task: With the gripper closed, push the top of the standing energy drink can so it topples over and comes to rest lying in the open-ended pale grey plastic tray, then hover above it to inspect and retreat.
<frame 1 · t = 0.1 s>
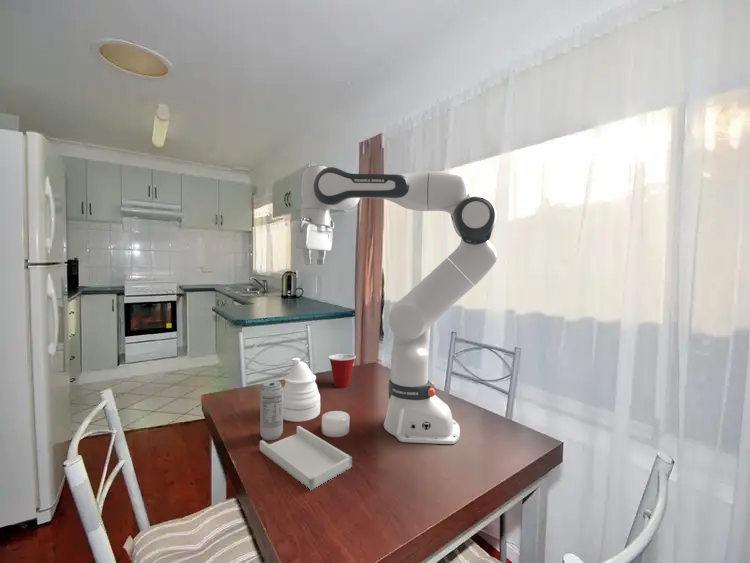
hand: (314, 264, 108), 48 cm above the table, fingers open, 8 cm apart
energy drink can: (271, 436, 96), on the table
plastic cup: (341, 385, 137), on the table
honey pot: (300, 413, 111), on the table
white rounded puck: (335, 430, 100), on the table
tray: (304, 458, 86), on the table
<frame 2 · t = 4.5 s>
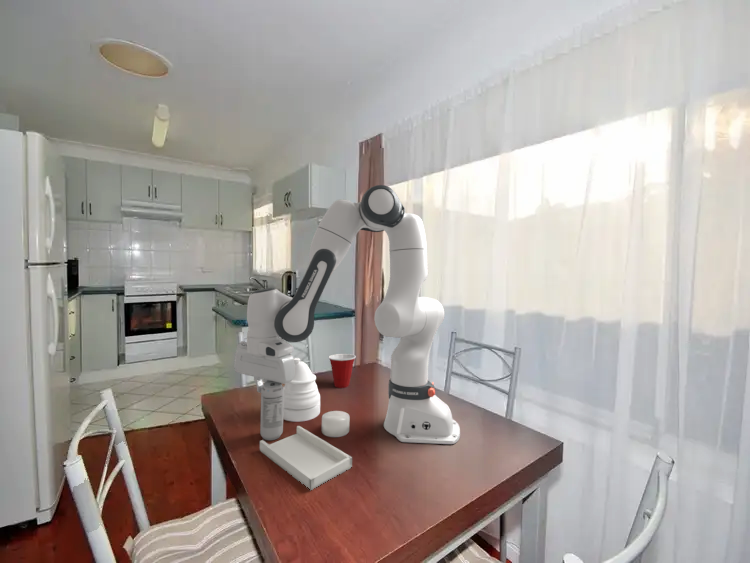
hand: (263, 392, 99), 11 cm above the table, fingers closed
nothing on the table moved.
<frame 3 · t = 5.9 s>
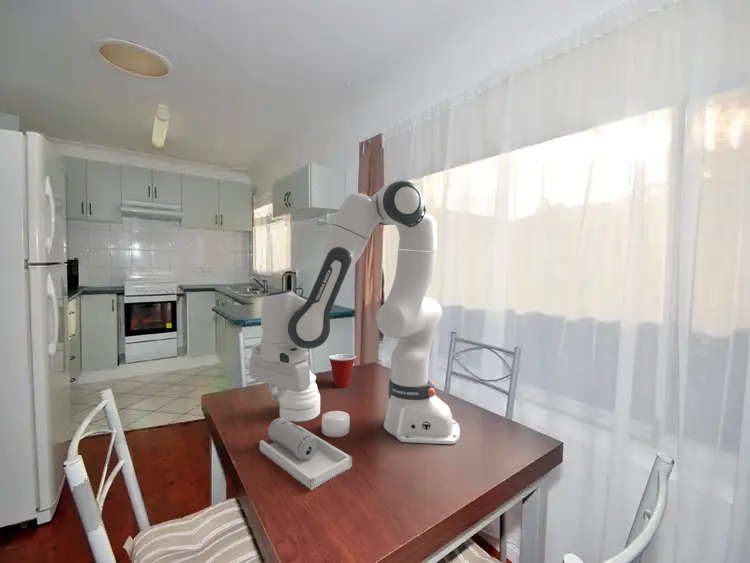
hand: (277, 400, 94), 11 cm above the table, fingers closed
energy drink can: (275, 427, 94), point 4 cm above the table, touching tray
everything else where it was.
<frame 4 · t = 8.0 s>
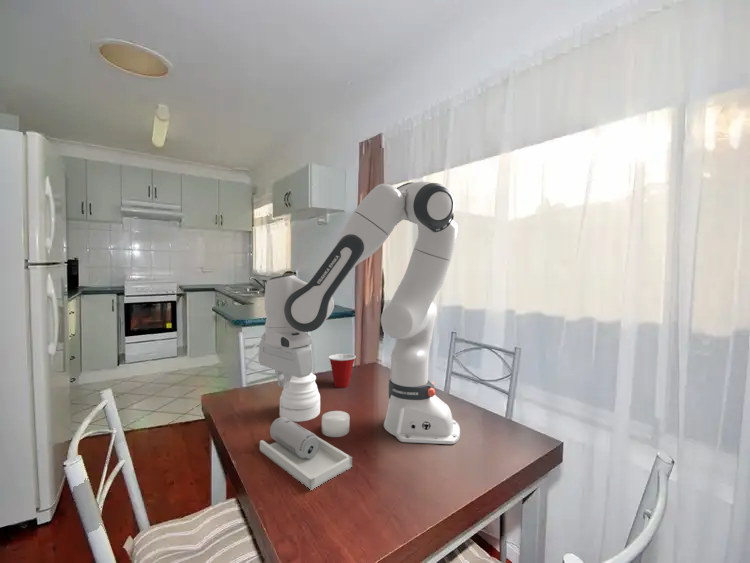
hand: (284, 386, 92), 15 cm above the table, fingers closed
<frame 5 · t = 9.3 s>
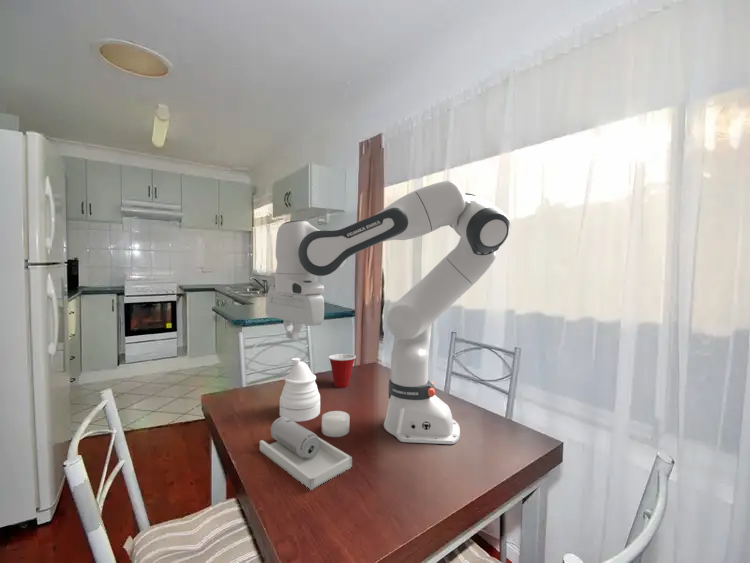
hand: (292, 338, 89), 29 cm above the table, fingers closed
nothing on the table moved.
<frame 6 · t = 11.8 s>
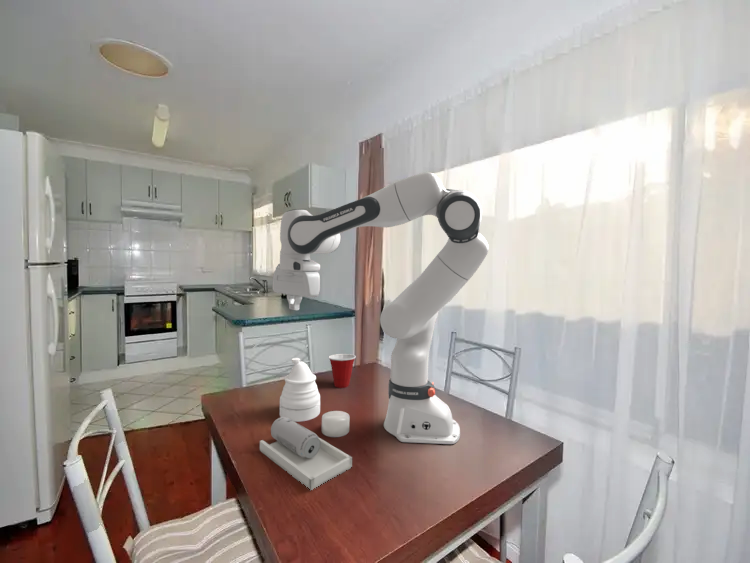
hand: (294, 309, 105), 34 cm above the table, fingers closed
nothing on the table moved.
at the end: energy drink can tilted 90°; energy drink can inside the target area on the tray (9.2 cm from its centre), point 3.5 cm above the tray's base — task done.
